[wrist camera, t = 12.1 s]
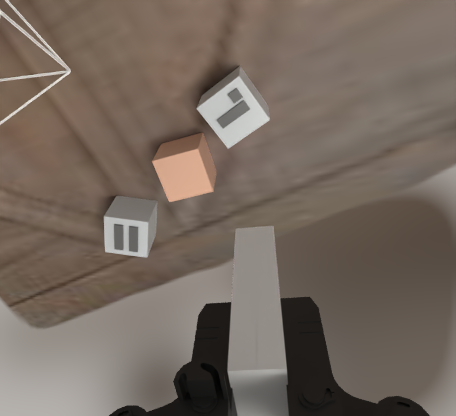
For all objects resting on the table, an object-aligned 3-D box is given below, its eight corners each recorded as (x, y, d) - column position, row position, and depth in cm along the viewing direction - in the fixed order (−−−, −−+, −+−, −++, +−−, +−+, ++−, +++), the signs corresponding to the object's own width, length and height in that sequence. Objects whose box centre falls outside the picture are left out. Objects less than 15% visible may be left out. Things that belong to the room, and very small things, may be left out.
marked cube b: (230, 131, 43) (228, 149, 38) (202, 95, 41) (196, 109, 37) (267, 105, 41) (270, 120, 37) (240, 65, 39) (238, 76, 35)
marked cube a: (117, 228, 50) (104, 253, 46) (116, 195, 48) (102, 217, 43) (156, 233, 50) (146, 258, 46) (157, 200, 48) (147, 223, 43)
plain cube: (176, 181, 46) (169, 202, 42) (161, 143, 44) (151, 161, 40) (216, 171, 46) (213, 191, 41) (203, 131, 43) (197, 148, 39)
